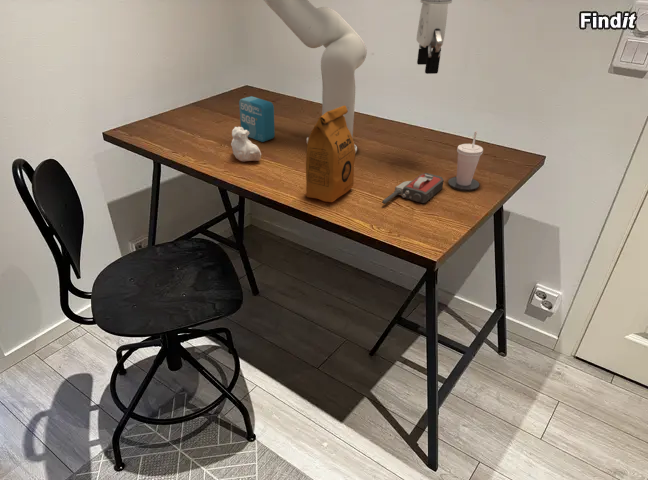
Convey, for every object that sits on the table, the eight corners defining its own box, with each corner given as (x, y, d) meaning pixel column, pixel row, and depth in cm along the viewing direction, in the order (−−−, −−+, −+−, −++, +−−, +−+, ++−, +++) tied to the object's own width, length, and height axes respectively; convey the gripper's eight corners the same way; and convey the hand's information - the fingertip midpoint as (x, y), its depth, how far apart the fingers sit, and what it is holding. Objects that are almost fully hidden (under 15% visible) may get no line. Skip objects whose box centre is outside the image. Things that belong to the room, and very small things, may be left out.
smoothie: (477, 188, 135) (488, 136, 127) (451, 186, 136) (461, 135, 128) (474, 178, 140) (485, 127, 132) (450, 176, 141) (459, 126, 133)
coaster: (452, 191, 135) (452, 189, 135) (444, 178, 142) (444, 176, 141) (482, 191, 135) (483, 189, 135) (473, 178, 142) (474, 176, 141)
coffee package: (359, 191, 136) (365, 107, 124) (331, 208, 129) (334, 120, 116) (329, 181, 142) (331, 100, 129) (300, 196, 134) (300, 112, 121)
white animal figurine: (233, 160, 160) (212, 138, 151) (247, 141, 161) (227, 118, 152) (257, 172, 153) (237, 149, 144) (272, 151, 153) (253, 128, 144)
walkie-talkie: (415, 179, 142) (379, 206, 129) (417, 163, 139) (380, 190, 126) (445, 187, 137) (411, 216, 124) (448, 171, 135) (413, 199, 122)
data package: (240, 134, 173) (238, 98, 166) (251, 131, 176) (249, 95, 169) (264, 143, 166) (263, 105, 159) (275, 139, 168) (274, 102, 162)
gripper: (414, -9, 134) (406, 61, 143) (429, 0, 119) (419, 77, 129) (443, -9, 133) (433, 60, 143) (462, 0, 119) (449, 76, 129)
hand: (426, 68), depth 136 cm, fingers open, 9 cm apart
